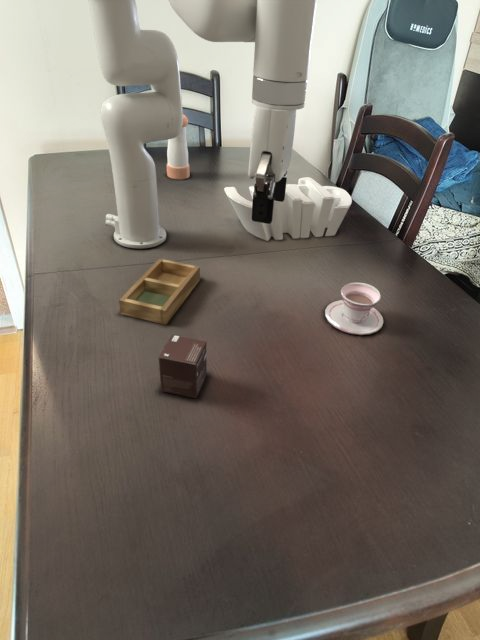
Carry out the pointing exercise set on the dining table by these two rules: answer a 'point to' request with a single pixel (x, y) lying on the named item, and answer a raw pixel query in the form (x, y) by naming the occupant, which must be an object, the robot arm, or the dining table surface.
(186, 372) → the box
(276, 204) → the wavy white extrusion
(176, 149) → the pepper shaker
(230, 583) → the dining table surface
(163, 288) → the wooden tray
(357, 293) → the teacup
